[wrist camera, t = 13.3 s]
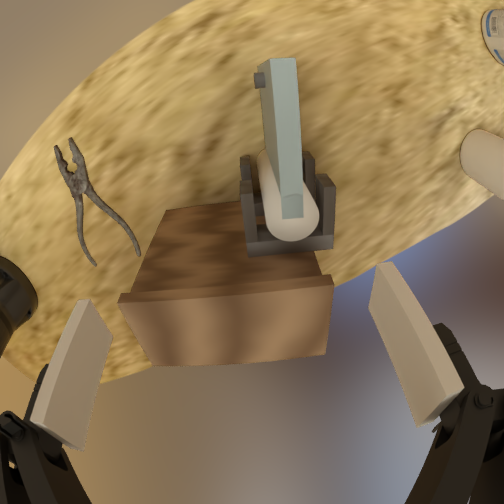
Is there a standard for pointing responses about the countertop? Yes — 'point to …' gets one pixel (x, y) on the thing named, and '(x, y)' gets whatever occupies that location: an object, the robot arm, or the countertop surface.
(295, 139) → the door
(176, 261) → the cabinet
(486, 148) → the pill bottle
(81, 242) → the pliers
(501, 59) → the supplement tub
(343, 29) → the countertop surface
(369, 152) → the countertop surface
